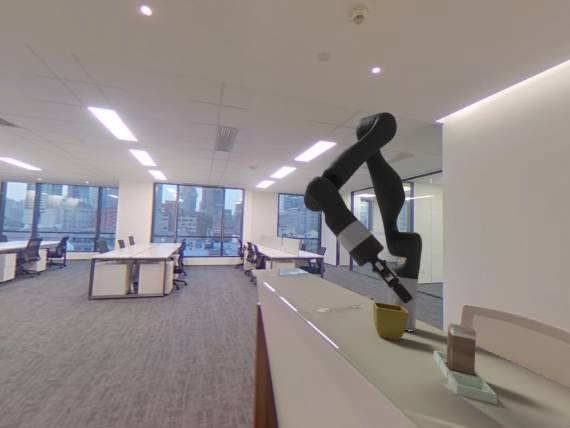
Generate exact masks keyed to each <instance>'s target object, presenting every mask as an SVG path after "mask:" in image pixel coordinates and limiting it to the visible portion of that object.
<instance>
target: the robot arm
mask: <svg viewBox="0 0 570 428" xmlns="http://www.w3.org/2000/svg"><path fill="white" fill-rule="evenodd" d="M397 129H398V125H397V120H396V118H395V116H394V115H393V114H392V113H390V112H386V111H384V112H379V113H376V114H372V115H370V116H365V117H363V118H360V119H359V120H358V121H357V123H356V127H355V135H356V139H357V141H356V142H355V143H352V145H350V146H349V147H346V149H344V150H343V151H341V152H340V153H339V154H337V155H336V156H335V157H334V158H333V160H331V162H329V164H328V165H327V166H326V167H325V168H324V170H323V172H322V174H321V176H319V175H318V176H315V177H312V178H311V179H310V180H309V181H308V183H307V185H306V188H305V192H304V195H303V204H304V206H305V207H306V208H307V210H309V211H310V212H313V213H318V212H319V213H320V212H322V213H323V215H324V223H325V225H326V227H327V228H328V229H329V231H331V232H332V234H333V235H334V236H335V238H336V239H337V240H338V241H339V243H340V245H341V246H342V247H343V248H344V250H345V251H346V252H347V254H348V255H349V256H350V257H351V258H352V259H353V261H354V262H355V263H356V265H358V267H363V266H364V265H366V264H367V263H370V264H371V267H372V269H371V271H372V272H373V273H374V275H375V276H377V277H378V278H379V280H380V281H382V282H383V284H386V285H387V287H388V297H387V304H391V305H397V306H402V307H403V308H404V309H406V310H407V311H408V312H409V314H408V319H407V324H406V329H405V330H414V329H415V330H416V322H417V310H418V309H417V306H418V294H419V293H418V292H419V291H418V290H419V289H418V288H419V274H420V270H421V260H422V252H423V250H422V249H423V239H422V236H421V235H420V234H419V232H414V231H399V229H398V219H399V215H400V214H401V211H402V209H403V207H404V204H405V201H406V193H405V189H404V184H403V181H402V178H401V176H400V175H399V174H398V172H397V171H396V170H395V169H394V168H393V167H392V166H391V165H390V164H389V163H388V162H387V160H386V159H385V158H384V156H383V154H382V152H381V150H382V148H383V147H384V146H386V145H387V144H388V143H390V142H391V141H392V140H393V139H394V137H395V135H396V134H397ZM365 163H366V165H367V169H368V172H369V173H368V174H369V176H370V179H371V184H372V187H373V191H374V195H375V199H376V200H375V201H376V203H377V206H378V209H379V212H380V213H379V214H380V218H381V220H382V225H383V231H384V236H385V243H386V247H387V251H388V253H389V254H390V255H391V256H392V257H396V258H404V259H405V261H404V262H403V263H402V264H400V265H399V264H398V265H396V266H391V265H390V263H389V262H387V260H386V259H381V258H379V255H378V254H380V253H382V252H383V250H384V249H385V247H384V246H383V244H382V243H381V242H380V240H378V239H377V237H375V235H374V234H373V233H372V232H371V231H370V230H369V229H368V227H366V226H365V224H363V223H362V222H361V221H360V220H359V219H358V217H356V215H354V213H353V212H352V211H351V210H350V209H349V208H348V206H347V205H346V203H345V200H344V198H343V197H342V195H341V193H340V192H339V191H340V190H341V189H342V187H343V186H344V185H345V184H346V183H347V182H348V181H349V180H350V179H351V177H353V175H354V174H355V173H356V172H357V171H358V170H359V168H360V167H362V165H363V164H365Z"/></svg>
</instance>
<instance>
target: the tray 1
mask: <svg viewBox="0 0 570 428" xmlns="http://www.w3.org/2000/svg"><path fill="white" fill-rule="evenodd" d="M433 359H434V360H435V362H436V363H437V365H438V366H439V367H440V360H443V361H447V352H443V351H440V350H439V351H438V350H433Z"/></svg>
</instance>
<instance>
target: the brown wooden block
mask: <svg viewBox="0 0 570 428" xmlns="http://www.w3.org/2000/svg"><path fill="white" fill-rule="evenodd" d="M476 337H477V331H476V330H474V328H472V327H471V326H467V325H462V324H456V323H453V322H452V323H451V322H447V341H446V342H447V343H446V344H447V345H446V347H447V348H446V353H447V363H446V366H447V367H448V369H449V370H450V371H454V372H459V373H463V374H467V375H472V376H474V372H475V371H476V370H475V367H476V366H475V365H476V340H477V338H476Z"/></svg>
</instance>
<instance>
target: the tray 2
mask: <svg viewBox="0 0 570 428" xmlns="http://www.w3.org/2000/svg"><path fill="white" fill-rule="evenodd" d="M446 363H447V361H443V360H440V366H439V369H440V370H441V371H442V372H443V374H444V376H445V378H446V379H447V380H448V372H451V373H456V374H460V375H464V376H469V377H473V378H477V379H482V380H483V378H482V377H481V376H480V375H479V373H478V372H477V371H476V370H475V372H474V376H472V375H467V374H463V373H459V372H454V371H450V370H449V369H448V367H447V366H446Z"/></svg>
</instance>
